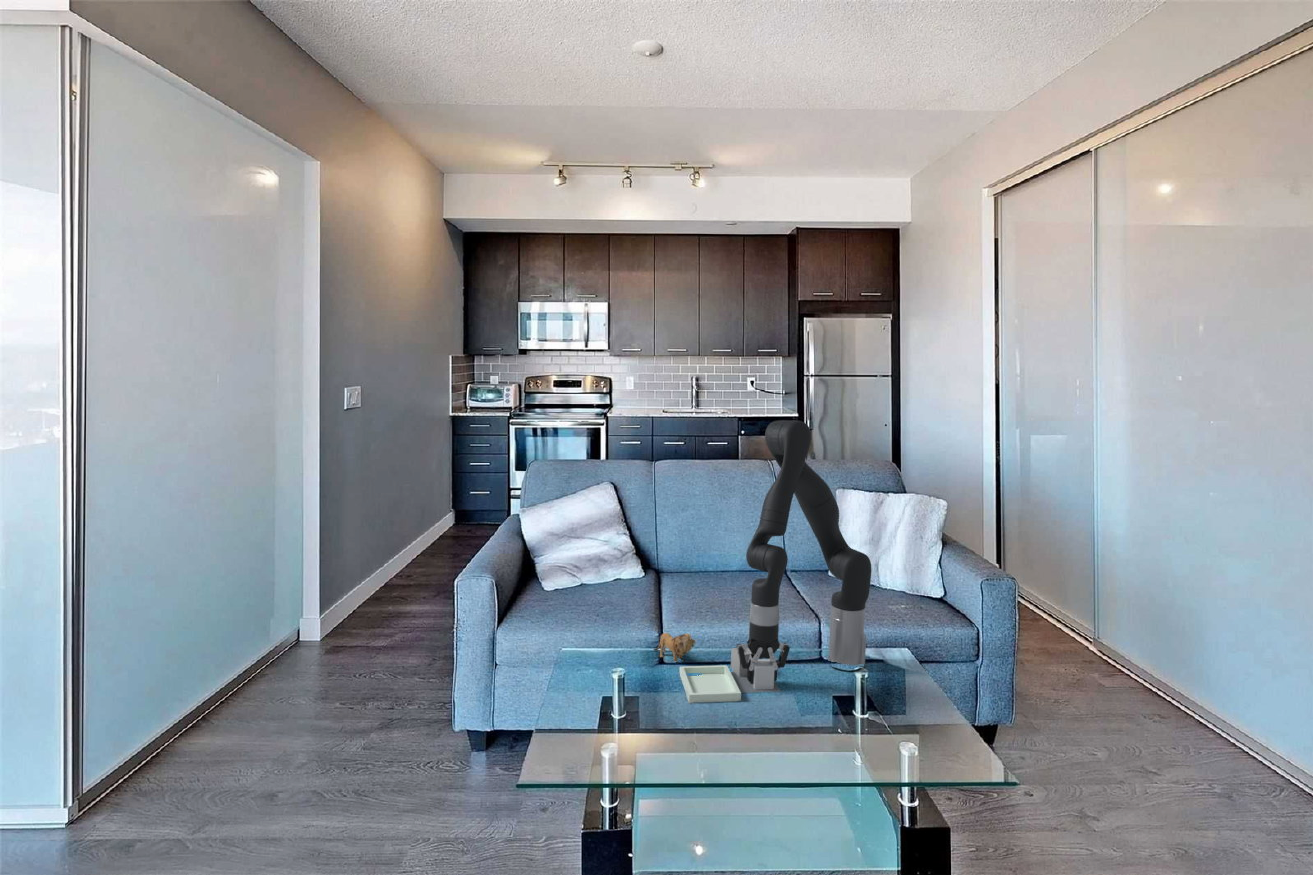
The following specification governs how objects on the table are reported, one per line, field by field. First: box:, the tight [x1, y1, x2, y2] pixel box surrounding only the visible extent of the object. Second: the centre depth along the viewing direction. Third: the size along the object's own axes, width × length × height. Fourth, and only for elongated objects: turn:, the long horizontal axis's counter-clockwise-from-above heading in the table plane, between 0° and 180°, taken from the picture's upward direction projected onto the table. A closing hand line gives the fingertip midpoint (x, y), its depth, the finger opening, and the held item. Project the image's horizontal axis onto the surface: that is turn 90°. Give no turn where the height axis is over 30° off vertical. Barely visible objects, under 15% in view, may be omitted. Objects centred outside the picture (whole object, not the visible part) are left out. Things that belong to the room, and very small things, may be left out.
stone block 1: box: [730, 647, 751, 677], centre depth 209 cm, size 5×5×6 cm
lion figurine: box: [653, 632, 696, 662], centre depth 218 cm, size 15×5×9 cm, turn 45°
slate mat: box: [731, 672, 782, 694], centre depth 206 cm, size 11×16×1 cm
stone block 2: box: [752, 658, 775, 690], centre depth 201 cm, size 5×5×6 cm
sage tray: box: [679, 664, 742, 705], centre depth 200 cm, size 13×17×2 cm
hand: (761, 682), depth 202 cm, fingers closed on stone block 2, 5 cm apart
